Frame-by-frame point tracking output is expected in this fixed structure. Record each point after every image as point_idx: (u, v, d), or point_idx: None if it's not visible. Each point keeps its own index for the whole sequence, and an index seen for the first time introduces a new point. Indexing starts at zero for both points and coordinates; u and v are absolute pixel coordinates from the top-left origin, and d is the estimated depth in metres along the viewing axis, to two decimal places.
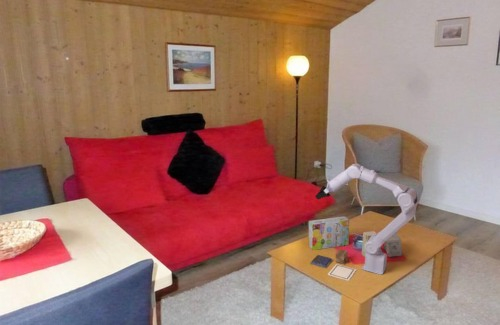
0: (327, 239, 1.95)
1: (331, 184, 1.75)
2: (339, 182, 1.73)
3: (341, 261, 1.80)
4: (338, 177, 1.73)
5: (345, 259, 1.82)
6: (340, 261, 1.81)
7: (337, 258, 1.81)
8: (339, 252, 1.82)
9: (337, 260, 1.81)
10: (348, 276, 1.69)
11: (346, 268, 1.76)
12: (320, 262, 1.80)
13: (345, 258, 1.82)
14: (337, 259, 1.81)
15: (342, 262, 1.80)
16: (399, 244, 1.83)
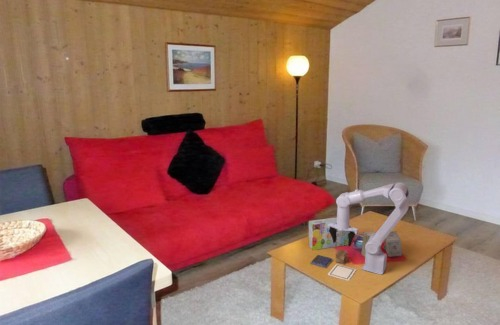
0: (327, 239, 1.95)
1: (347, 226, 1.76)
2: (342, 219, 1.75)
3: (341, 261, 1.80)
4: (338, 216, 1.76)
5: (345, 259, 1.82)
6: (340, 261, 1.81)
7: (337, 258, 1.81)
8: (339, 252, 1.82)
9: (337, 260, 1.81)
10: (348, 276, 1.69)
11: (346, 268, 1.76)
12: (320, 262, 1.80)
13: (345, 258, 1.82)
14: (337, 259, 1.81)
15: (342, 262, 1.80)
16: (399, 244, 1.83)
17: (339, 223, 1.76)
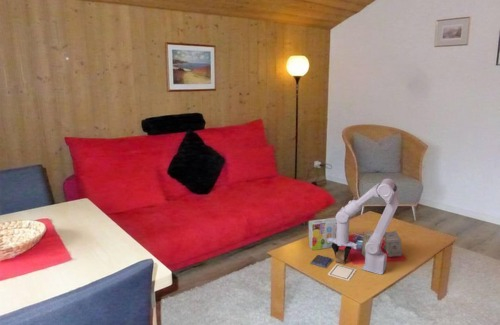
0: None
1: (346, 241, 1.78)
2: (341, 234, 1.77)
3: (341, 261, 1.80)
4: (337, 231, 1.78)
5: None
6: (340, 261, 1.81)
7: (337, 258, 1.81)
8: (339, 252, 1.82)
9: (337, 260, 1.81)
10: (348, 276, 1.69)
11: (346, 268, 1.76)
12: (320, 262, 1.80)
13: None
14: (337, 259, 1.81)
15: (342, 262, 1.80)
16: (399, 244, 1.83)
17: (338, 238, 1.78)
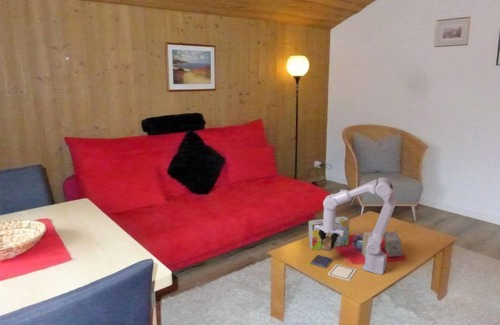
0: None
1: (333, 228, 1.76)
2: (329, 221, 1.75)
3: (328, 248, 1.78)
4: (325, 218, 1.76)
5: None
6: (327, 248, 1.79)
7: (324, 245, 1.79)
8: (326, 239, 1.80)
9: (324, 247, 1.80)
10: (348, 276, 1.69)
11: (346, 268, 1.76)
12: (320, 262, 1.80)
13: None
14: (324, 246, 1.79)
15: (329, 249, 1.78)
16: (399, 244, 1.83)
17: (325, 225, 1.76)
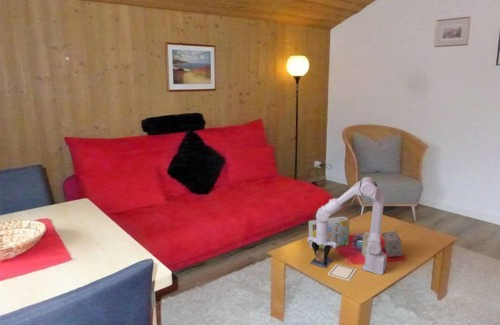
0: None
1: (326, 240, 1.77)
2: (322, 233, 1.76)
3: (321, 260, 1.80)
4: (318, 230, 1.77)
5: None
6: (320, 259, 1.80)
7: (317, 257, 1.80)
8: (319, 251, 1.81)
9: (317, 259, 1.81)
10: (348, 276, 1.69)
11: (346, 268, 1.76)
12: (320, 262, 1.80)
13: None
14: (317, 258, 1.81)
15: (322, 261, 1.79)
16: (399, 244, 1.83)
17: (318, 237, 1.77)
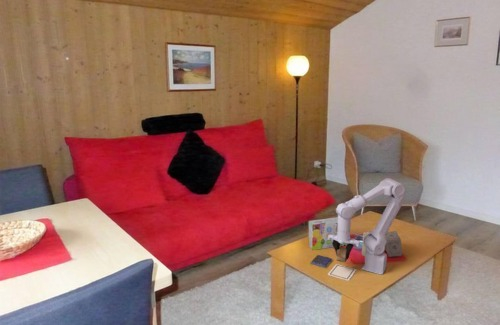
0: (327, 239, 1.95)
1: (348, 238, 1.66)
2: (347, 230, 1.65)
3: (342, 259, 1.68)
4: (342, 228, 1.65)
5: None
6: (341, 259, 1.69)
7: (338, 256, 1.69)
8: (340, 249, 1.70)
9: (338, 258, 1.70)
10: (348, 276, 1.69)
11: (346, 268, 1.76)
12: (320, 262, 1.80)
13: None
14: (338, 257, 1.69)
15: (343, 260, 1.68)
16: (399, 244, 1.83)
17: (340, 235, 1.66)
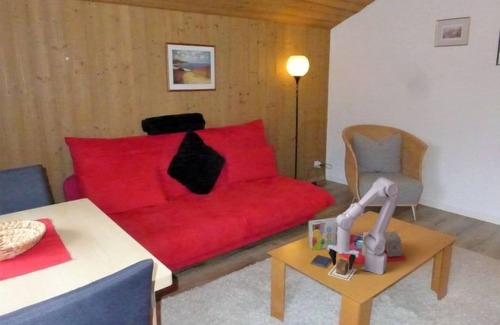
0: (327, 239, 1.95)
1: (347, 249, 1.68)
2: (347, 241, 1.66)
3: (342, 272, 1.70)
4: (342, 239, 1.66)
5: (346, 270, 1.72)
6: (341, 271, 1.70)
7: (337, 269, 1.71)
8: (340, 262, 1.71)
9: (337, 271, 1.71)
10: (348, 276, 1.69)
11: None
12: (320, 262, 1.80)
13: (346, 269, 1.71)
14: (337, 270, 1.71)
15: (343, 273, 1.70)
16: (399, 244, 1.83)
17: (339, 246, 1.68)
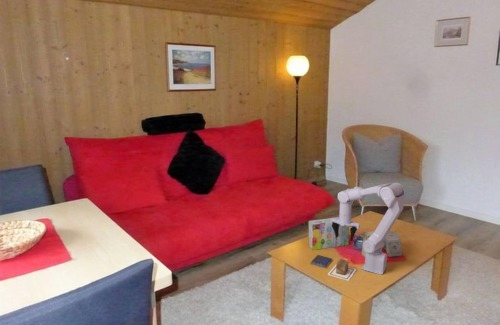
0: (327, 239, 1.95)
1: (349, 221, 1.82)
2: (342, 214, 1.81)
3: (342, 272, 1.70)
4: (339, 210, 1.83)
5: (346, 270, 1.72)
6: (341, 271, 1.70)
7: (337, 269, 1.71)
8: (340, 262, 1.71)
9: (337, 271, 1.71)
10: (348, 276, 1.69)
11: None
12: (320, 262, 1.80)
13: (346, 269, 1.71)
14: (337, 270, 1.71)
15: (343, 273, 1.70)
16: (399, 244, 1.83)
17: (341, 218, 1.82)
